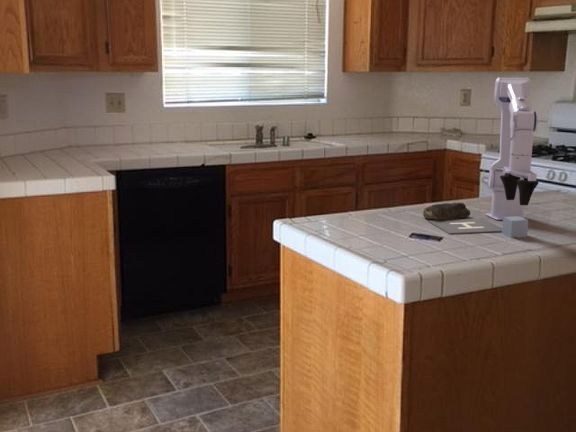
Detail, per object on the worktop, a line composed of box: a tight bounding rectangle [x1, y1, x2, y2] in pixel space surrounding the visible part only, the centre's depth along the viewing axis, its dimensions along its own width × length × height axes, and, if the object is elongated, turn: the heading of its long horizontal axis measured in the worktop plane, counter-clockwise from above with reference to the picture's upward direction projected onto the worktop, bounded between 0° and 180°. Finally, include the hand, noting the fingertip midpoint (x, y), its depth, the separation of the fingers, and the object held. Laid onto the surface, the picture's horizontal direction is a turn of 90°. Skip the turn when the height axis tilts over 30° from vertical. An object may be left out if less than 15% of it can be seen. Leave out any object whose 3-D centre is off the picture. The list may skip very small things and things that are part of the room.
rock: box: [422, 201, 471, 220], centre depth 205 cm, size 8×16×4 cm, turn 123°
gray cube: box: [501, 216, 529, 239], centre depth 183 cm, size 5×5×5 cm
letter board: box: [427, 218, 502, 235], centre depth 194 cm, size 18×16×1 cm
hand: (516, 202), depth 182 cm, fingers open, 7 cm apart
